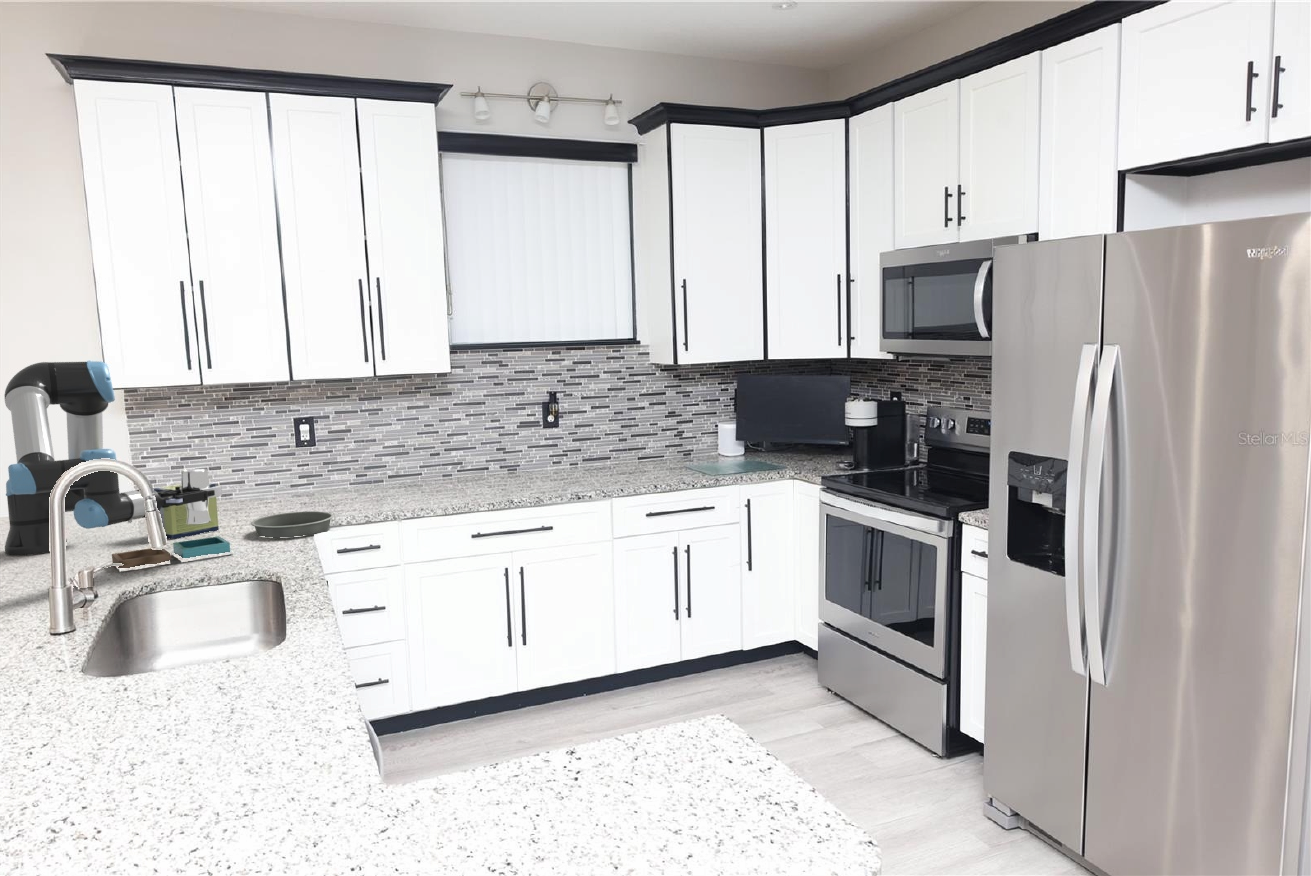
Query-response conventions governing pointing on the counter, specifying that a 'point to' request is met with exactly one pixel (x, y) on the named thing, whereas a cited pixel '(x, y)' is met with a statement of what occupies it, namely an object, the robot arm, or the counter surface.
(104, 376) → the robot arm
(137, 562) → the brown square tray
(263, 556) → the counter surface
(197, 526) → the protein box
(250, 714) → the counter surface
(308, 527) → the cake pan
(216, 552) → the teal shallow tray
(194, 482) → the beer glass
